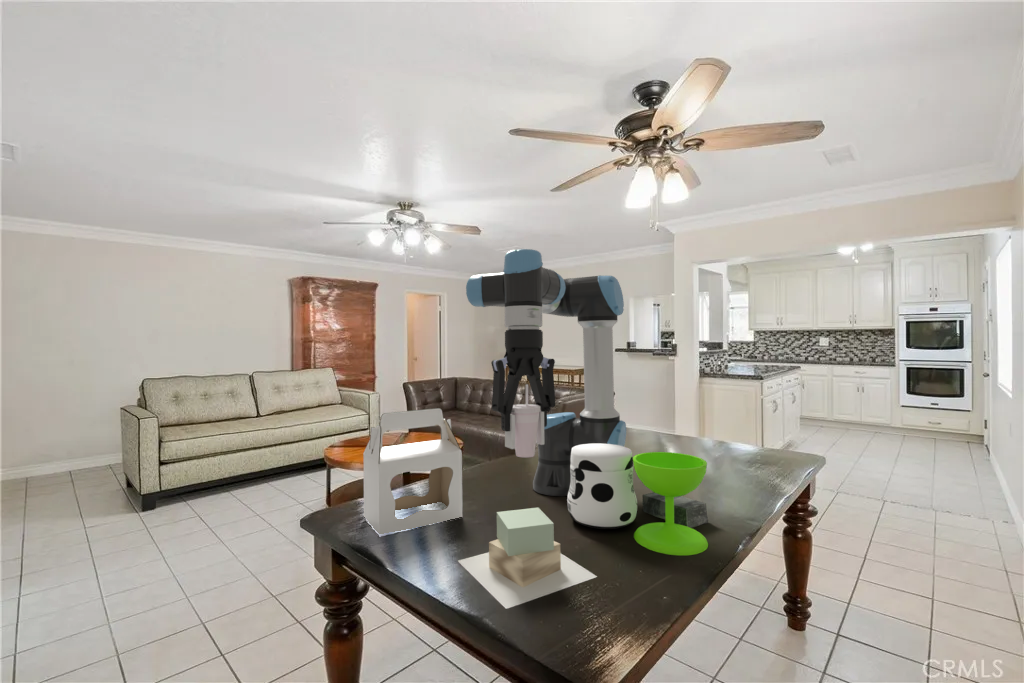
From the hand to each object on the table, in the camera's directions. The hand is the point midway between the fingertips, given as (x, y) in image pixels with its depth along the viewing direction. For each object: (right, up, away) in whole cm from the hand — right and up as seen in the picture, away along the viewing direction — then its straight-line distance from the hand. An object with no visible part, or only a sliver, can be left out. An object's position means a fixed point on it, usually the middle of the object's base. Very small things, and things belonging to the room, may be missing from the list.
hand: (524, 445), depth 90 cm
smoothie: (0, -2, 0) cm, 2 cm away
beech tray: (0, -24, 0) cm, 24 cm away
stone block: (+40, -25, +27) cm, 54 cm away
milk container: (+20, -25, +25) cm, 40 cm away
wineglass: (+33, -25, +13) cm, 44 cm away
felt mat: (0, -25, 0) cm, 25 cm away
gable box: (-28, -26, +27) cm, 47 cm away
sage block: (0, -19, 0) cm, 19 cm away
